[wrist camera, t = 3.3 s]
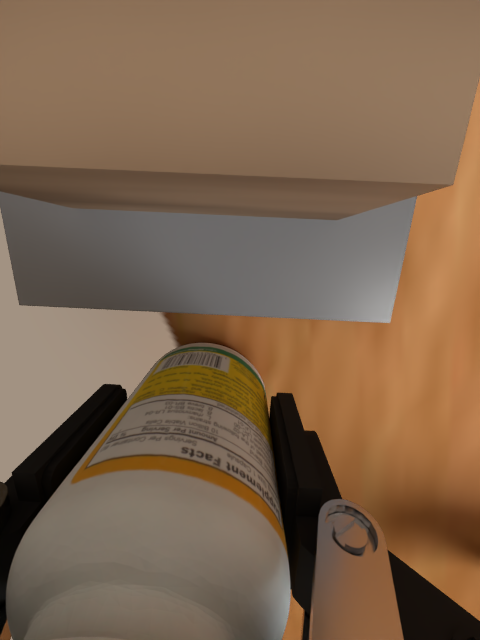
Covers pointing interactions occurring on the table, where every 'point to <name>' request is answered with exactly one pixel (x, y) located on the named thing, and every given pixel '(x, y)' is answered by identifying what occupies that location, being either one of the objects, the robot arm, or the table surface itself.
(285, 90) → the walnut block
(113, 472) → the supplement bottle
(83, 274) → the base plate
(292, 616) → the table surface
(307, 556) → the robot arm
